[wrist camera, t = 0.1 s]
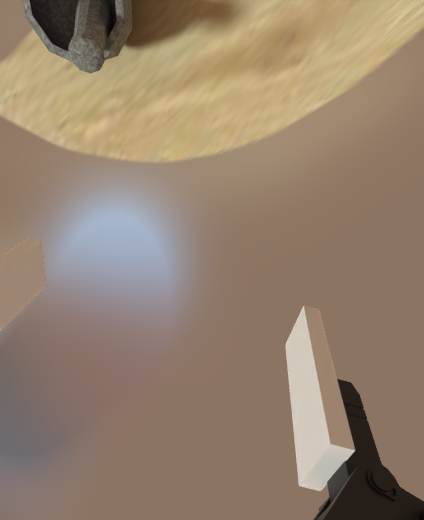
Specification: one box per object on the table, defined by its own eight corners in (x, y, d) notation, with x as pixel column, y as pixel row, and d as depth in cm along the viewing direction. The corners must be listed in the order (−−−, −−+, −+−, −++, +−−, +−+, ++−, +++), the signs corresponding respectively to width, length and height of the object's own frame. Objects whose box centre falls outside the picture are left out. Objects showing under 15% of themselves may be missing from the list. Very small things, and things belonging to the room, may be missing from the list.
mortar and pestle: (43, -6, 33) (-54, -44, 23) (107, -75, 30) (26, -156, 19) (111, 96, 37) (54, 103, 27) (173, 46, 34) (135, 31, 24)
